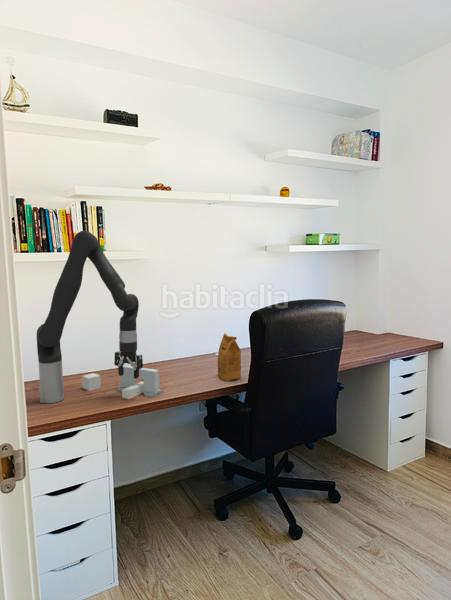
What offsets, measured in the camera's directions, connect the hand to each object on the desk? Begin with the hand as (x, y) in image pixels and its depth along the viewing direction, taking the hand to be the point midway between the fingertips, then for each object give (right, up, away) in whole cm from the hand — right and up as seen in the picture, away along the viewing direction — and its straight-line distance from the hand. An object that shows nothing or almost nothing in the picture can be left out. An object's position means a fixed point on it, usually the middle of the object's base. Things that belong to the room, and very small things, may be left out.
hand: (128, 376), depth 183 cm
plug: (+3, -8, +7) cm, 12 cm away
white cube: (-20, -8, +14) cm, 26 cm away
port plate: (+3, -8, +8) cm, 12 cm away
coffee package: (+44, -6, +28) cm, 53 cm away
